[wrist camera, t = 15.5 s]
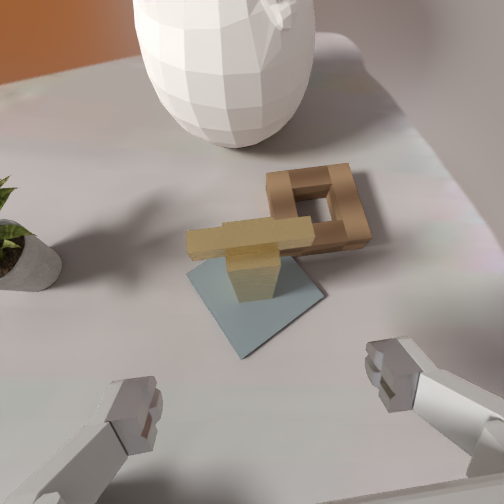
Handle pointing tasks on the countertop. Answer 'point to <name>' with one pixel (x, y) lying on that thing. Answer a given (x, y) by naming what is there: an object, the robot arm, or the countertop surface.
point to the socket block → (339, 201)
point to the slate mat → (253, 302)
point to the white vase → (228, 63)
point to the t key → (251, 251)
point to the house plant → (24, 256)
